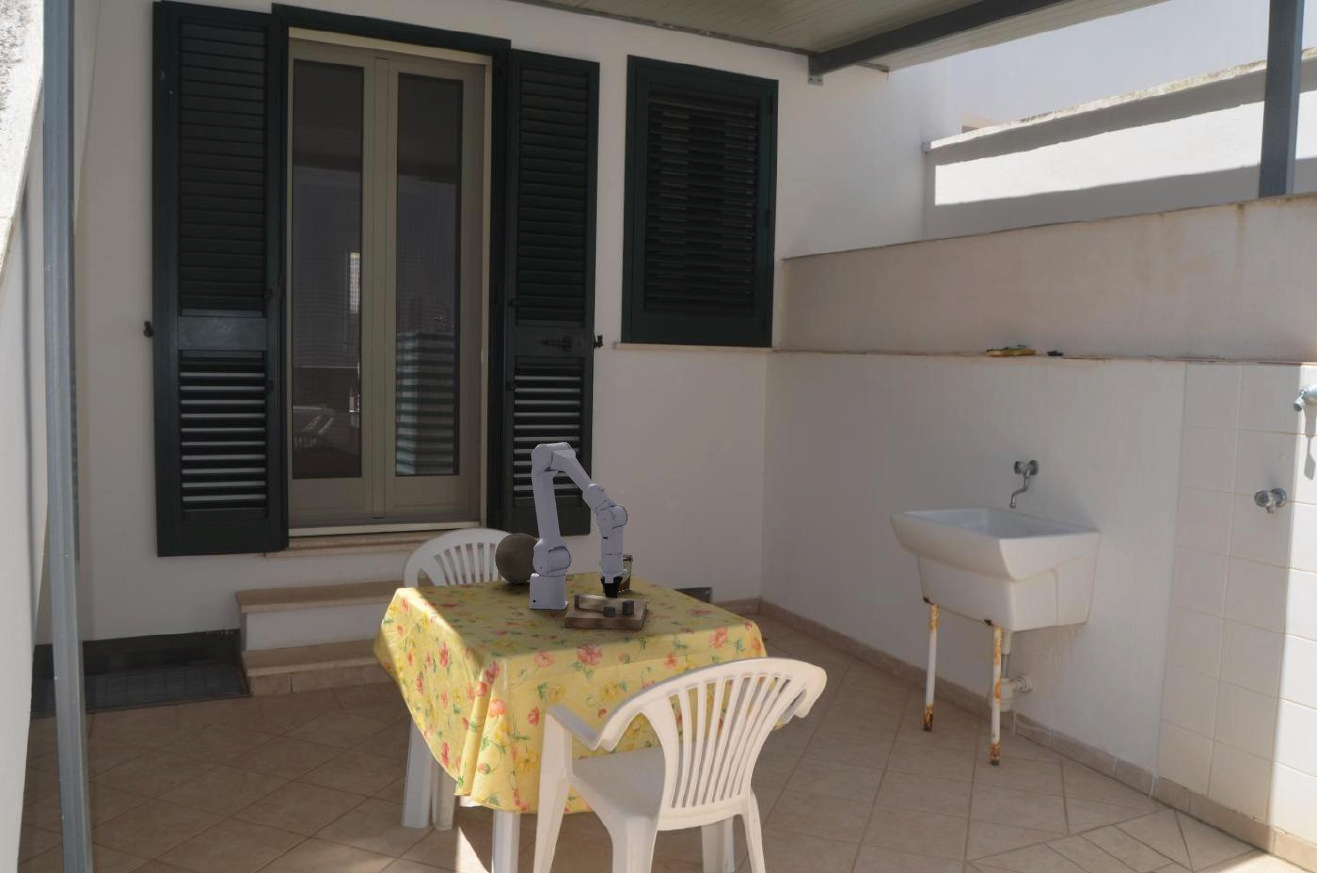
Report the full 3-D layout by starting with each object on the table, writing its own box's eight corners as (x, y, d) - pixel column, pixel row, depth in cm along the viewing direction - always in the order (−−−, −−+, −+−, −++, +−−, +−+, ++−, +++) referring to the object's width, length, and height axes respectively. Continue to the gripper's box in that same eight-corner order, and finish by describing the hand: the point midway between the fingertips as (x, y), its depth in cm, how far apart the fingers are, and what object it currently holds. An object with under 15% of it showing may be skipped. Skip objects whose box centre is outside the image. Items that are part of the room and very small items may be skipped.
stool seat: (564, 627, 265) (564, 607, 264) (576, 606, 287) (576, 588, 286) (640, 629, 264) (640, 610, 263) (646, 608, 286) (646, 590, 285)
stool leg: (571, 607, 275) (571, 594, 275) (578, 604, 278) (578, 592, 277) (627, 615, 267) (627, 602, 267) (633, 612, 270) (634, 600, 270)
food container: (616, 585, 313) (616, 552, 312) (632, 588, 309) (633, 554, 309) (589, 592, 303) (590, 558, 302) (606, 596, 299) (606, 561, 299)
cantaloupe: (487, 581, 315) (487, 531, 314) (531, 577, 322) (532, 528, 321) (504, 591, 303) (505, 539, 302) (550, 586, 310) (550, 535, 309)
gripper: (625, 558, 265) (624, 612, 267) (629, 548, 280) (629, 598, 281) (596, 557, 266) (596, 611, 267) (603, 547, 280) (602, 598, 281)
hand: (611, 604), depth 274 cm, fingers closed, pressing on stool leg
